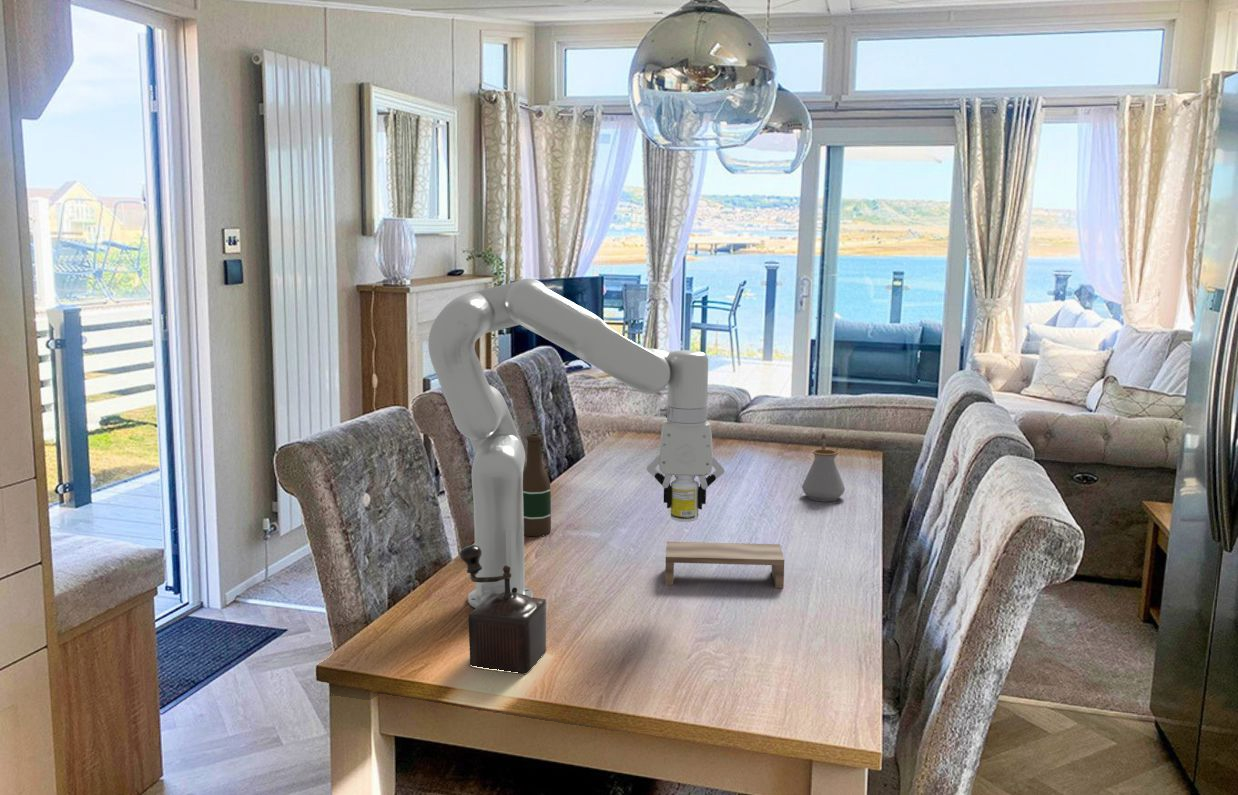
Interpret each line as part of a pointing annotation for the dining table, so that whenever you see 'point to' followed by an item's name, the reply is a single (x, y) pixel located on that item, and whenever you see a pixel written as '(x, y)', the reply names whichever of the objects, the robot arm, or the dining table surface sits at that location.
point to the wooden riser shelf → (725, 556)
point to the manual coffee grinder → (504, 623)
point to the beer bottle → (536, 491)
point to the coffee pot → (823, 476)
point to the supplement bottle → (684, 498)
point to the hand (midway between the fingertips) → (684, 506)
